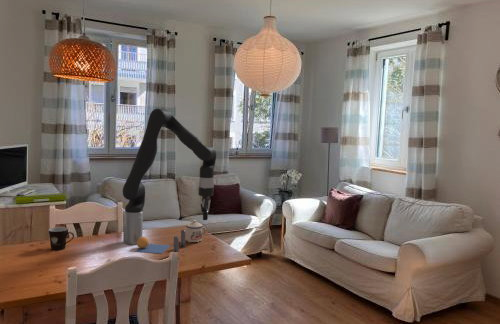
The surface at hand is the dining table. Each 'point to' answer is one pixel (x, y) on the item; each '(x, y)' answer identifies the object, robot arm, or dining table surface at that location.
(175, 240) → the post
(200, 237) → the teacup with lid
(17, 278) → the dining table surface
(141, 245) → the ball
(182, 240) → the post
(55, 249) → the coffee mug
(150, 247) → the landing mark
